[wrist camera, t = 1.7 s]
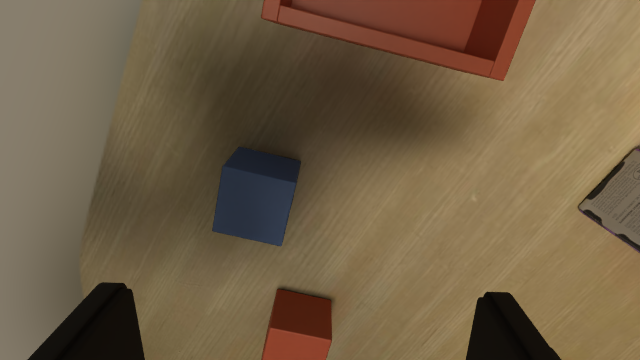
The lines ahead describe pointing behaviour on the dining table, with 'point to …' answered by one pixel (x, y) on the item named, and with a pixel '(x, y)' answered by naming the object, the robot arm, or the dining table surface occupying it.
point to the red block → (298, 328)
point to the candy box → (618, 202)
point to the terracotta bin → (417, 28)
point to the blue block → (255, 196)
